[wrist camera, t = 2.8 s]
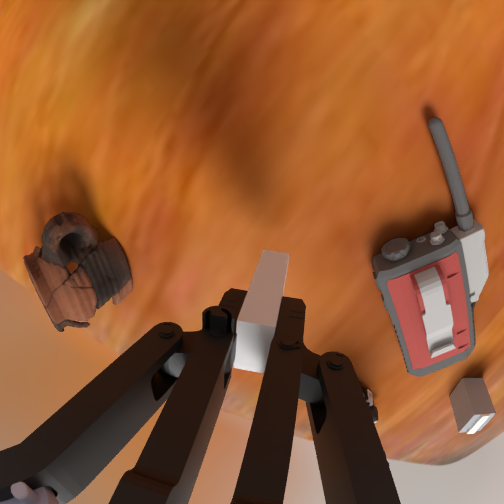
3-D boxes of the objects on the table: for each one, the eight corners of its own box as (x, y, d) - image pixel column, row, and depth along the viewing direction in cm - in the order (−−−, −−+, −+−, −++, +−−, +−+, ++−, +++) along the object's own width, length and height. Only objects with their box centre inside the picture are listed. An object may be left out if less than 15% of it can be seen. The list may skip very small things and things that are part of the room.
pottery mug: (141, 315, 29) (73, 358, 24) (96, 258, 33) (35, 291, 27) (133, 219, 21) (28, 271, 16) (82, 165, 24) (1, 200, 19)
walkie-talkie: (486, 330, 22) (438, 111, 16) (502, 362, 18) (467, 114, 12) (404, 364, 26) (324, 159, 19) (411, 400, 22) (326, 173, 16)
